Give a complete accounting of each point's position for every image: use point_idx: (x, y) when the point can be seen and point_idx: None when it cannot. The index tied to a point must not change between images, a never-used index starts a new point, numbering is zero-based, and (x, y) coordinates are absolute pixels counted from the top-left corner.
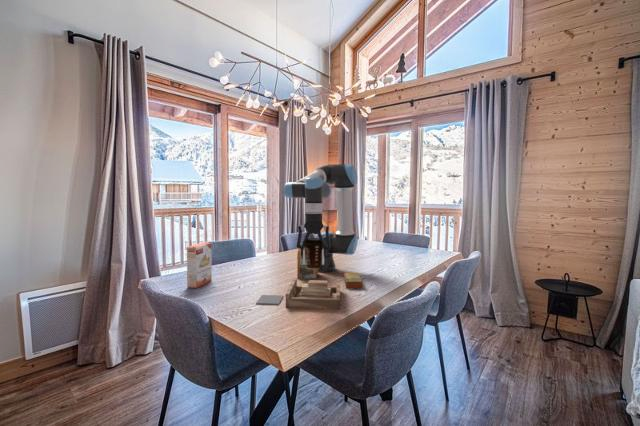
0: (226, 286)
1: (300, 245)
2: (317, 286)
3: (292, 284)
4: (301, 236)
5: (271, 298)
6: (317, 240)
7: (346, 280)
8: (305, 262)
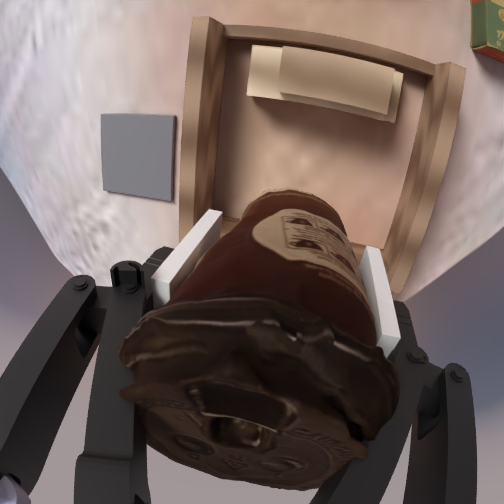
0: (10, 49)
1: (101, 321)
2: (332, 101)
3: (192, 125)
4: (37, 385)
5: (137, 149)
6: (285, 487)
7: (488, 26)
8: (220, 222)
